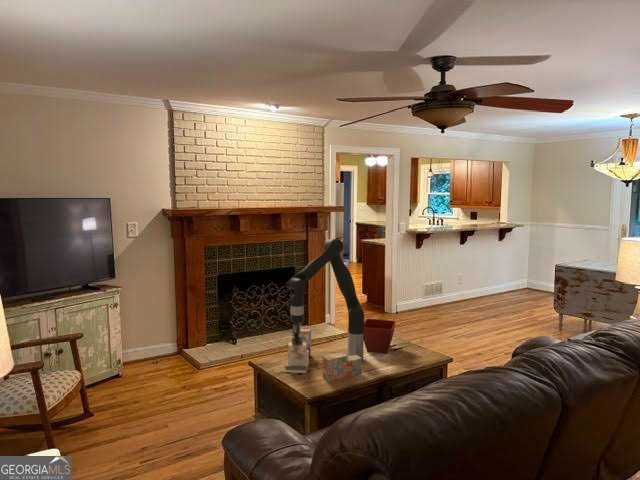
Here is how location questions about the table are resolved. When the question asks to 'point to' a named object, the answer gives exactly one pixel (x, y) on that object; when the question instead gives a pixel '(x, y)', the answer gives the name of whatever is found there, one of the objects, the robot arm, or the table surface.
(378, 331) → the plant pot
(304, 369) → the cleat board
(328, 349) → the table surface
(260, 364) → the table surface
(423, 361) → the table surface
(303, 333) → the candy bar box
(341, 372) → the stack of blocks
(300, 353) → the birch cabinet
